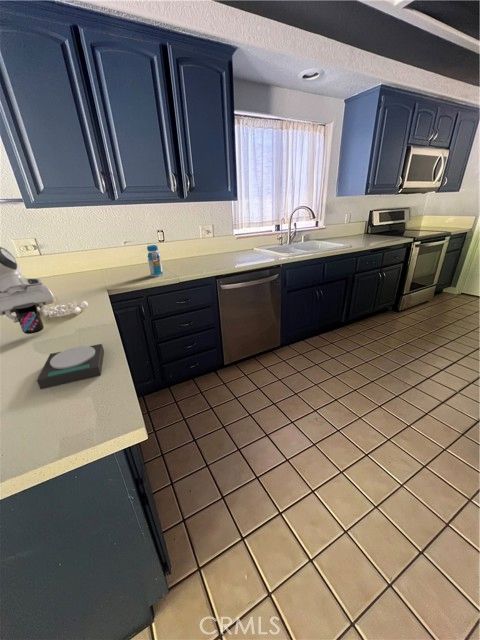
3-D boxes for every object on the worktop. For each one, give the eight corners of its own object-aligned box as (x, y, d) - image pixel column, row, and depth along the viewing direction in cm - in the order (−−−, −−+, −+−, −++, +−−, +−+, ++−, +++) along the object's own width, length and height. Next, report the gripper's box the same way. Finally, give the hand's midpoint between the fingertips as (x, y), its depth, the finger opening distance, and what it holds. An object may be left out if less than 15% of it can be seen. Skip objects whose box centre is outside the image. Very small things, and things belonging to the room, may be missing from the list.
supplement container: (18, 334, 99) (8, 308, 95) (33, 326, 106) (24, 302, 101) (34, 335, 98) (24, 309, 94) (48, 327, 105) (40, 302, 100)
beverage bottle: (148, 276, 182) (142, 246, 174) (155, 273, 189) (150, 244, 181) (159, 276, 179) (153, 246, 171) (165, 273, 187) (161, 244, 178)
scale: (40, 389, 72) (35, 378, 70) (53, 361, 85) (49, 352, 83) (100, 375, 77) (97, 365, 75) (104, 351, 90) (101, 342, 88)
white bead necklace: (33, 322, 118) (29, 314, 116) (55, 308, 131) (51, 300, 129) (74, 320, 116) (70, 312, 114) (92, 306, 129) (89, 298, 127)
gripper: (-23, 290, 93) (-8, 323, 90) (45, 278, 106) (59, 306, 104) (-19, 299, 97) (-5, 331, 95) (46, 287, 111) (60, 314, 108)
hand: (29, 318), depth 99 cm, fingers closed on supplement container, 6 cm apart
